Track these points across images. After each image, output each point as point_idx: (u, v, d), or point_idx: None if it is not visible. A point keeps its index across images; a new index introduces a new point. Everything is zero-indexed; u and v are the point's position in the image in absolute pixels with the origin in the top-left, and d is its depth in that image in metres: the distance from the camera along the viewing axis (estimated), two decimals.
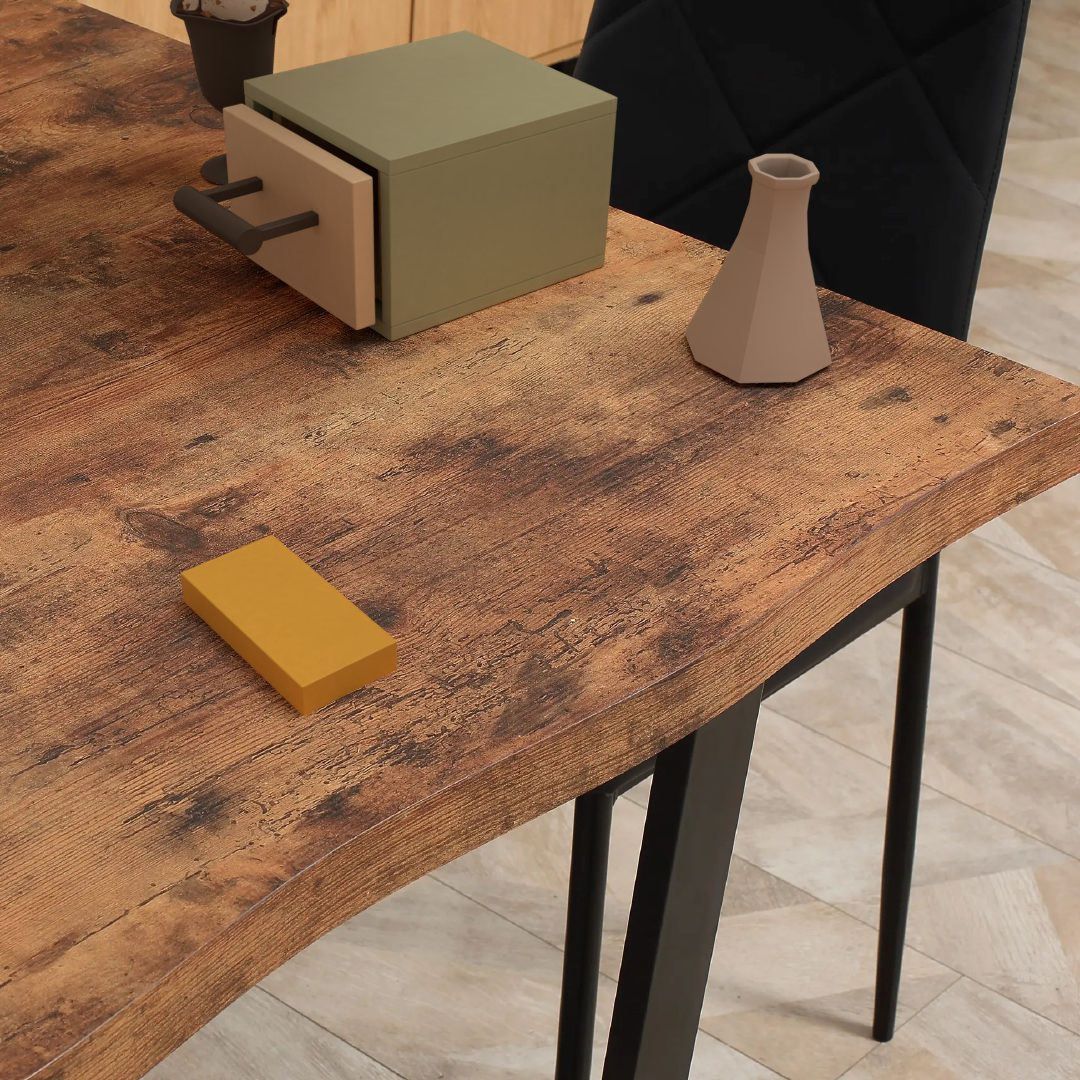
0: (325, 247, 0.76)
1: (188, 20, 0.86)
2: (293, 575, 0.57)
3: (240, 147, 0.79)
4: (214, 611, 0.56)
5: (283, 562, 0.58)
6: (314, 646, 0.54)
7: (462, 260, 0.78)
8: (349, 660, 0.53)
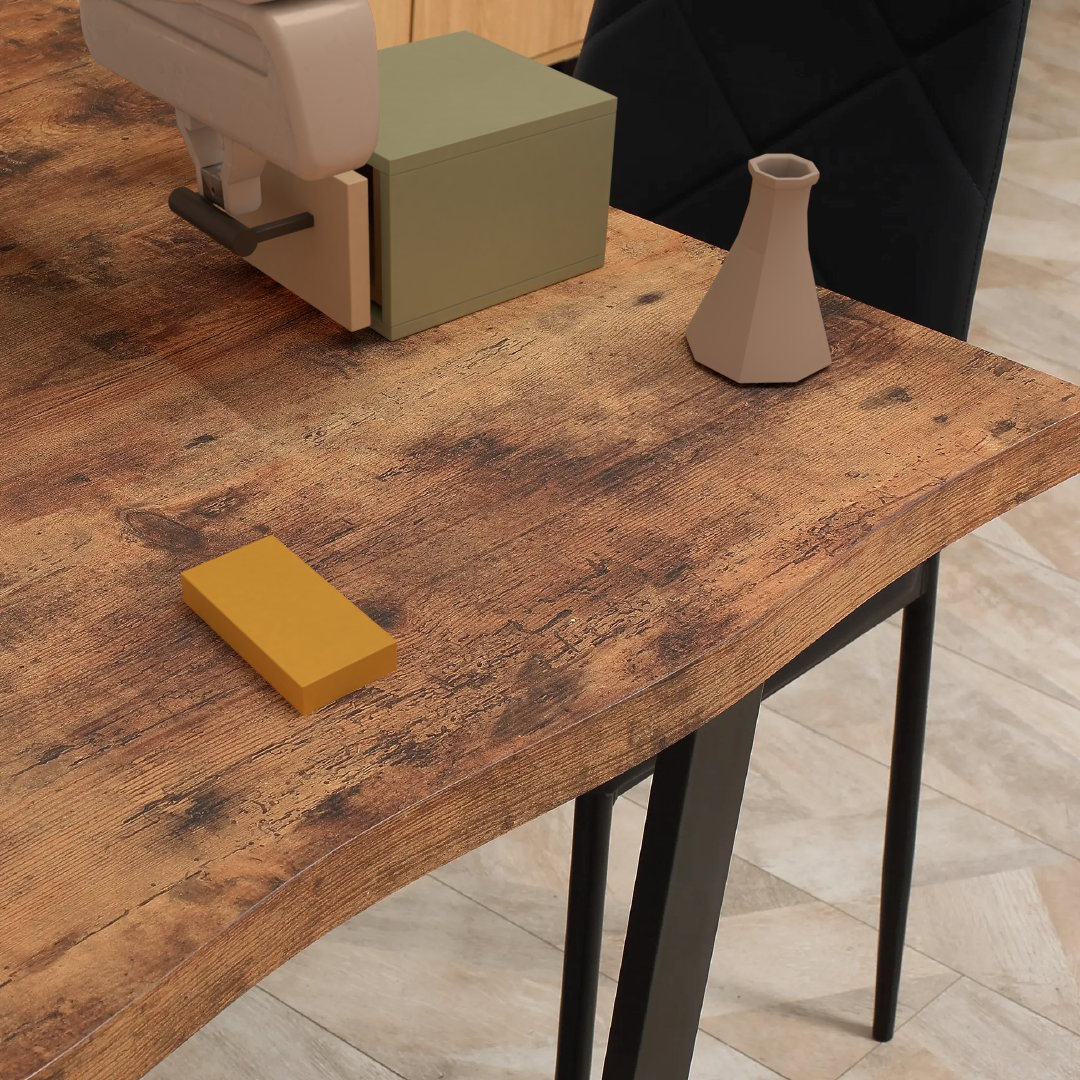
0: (320, 249, 0.76)
1: None
2: (293, 575, 0.57)
3: None
4: (214, 611, 0.56)
5: (283, 562, 0.58)
6: (314, 646, 0.54)
7: (462, 260, 0.78)
8: (349, 660, 0.53)
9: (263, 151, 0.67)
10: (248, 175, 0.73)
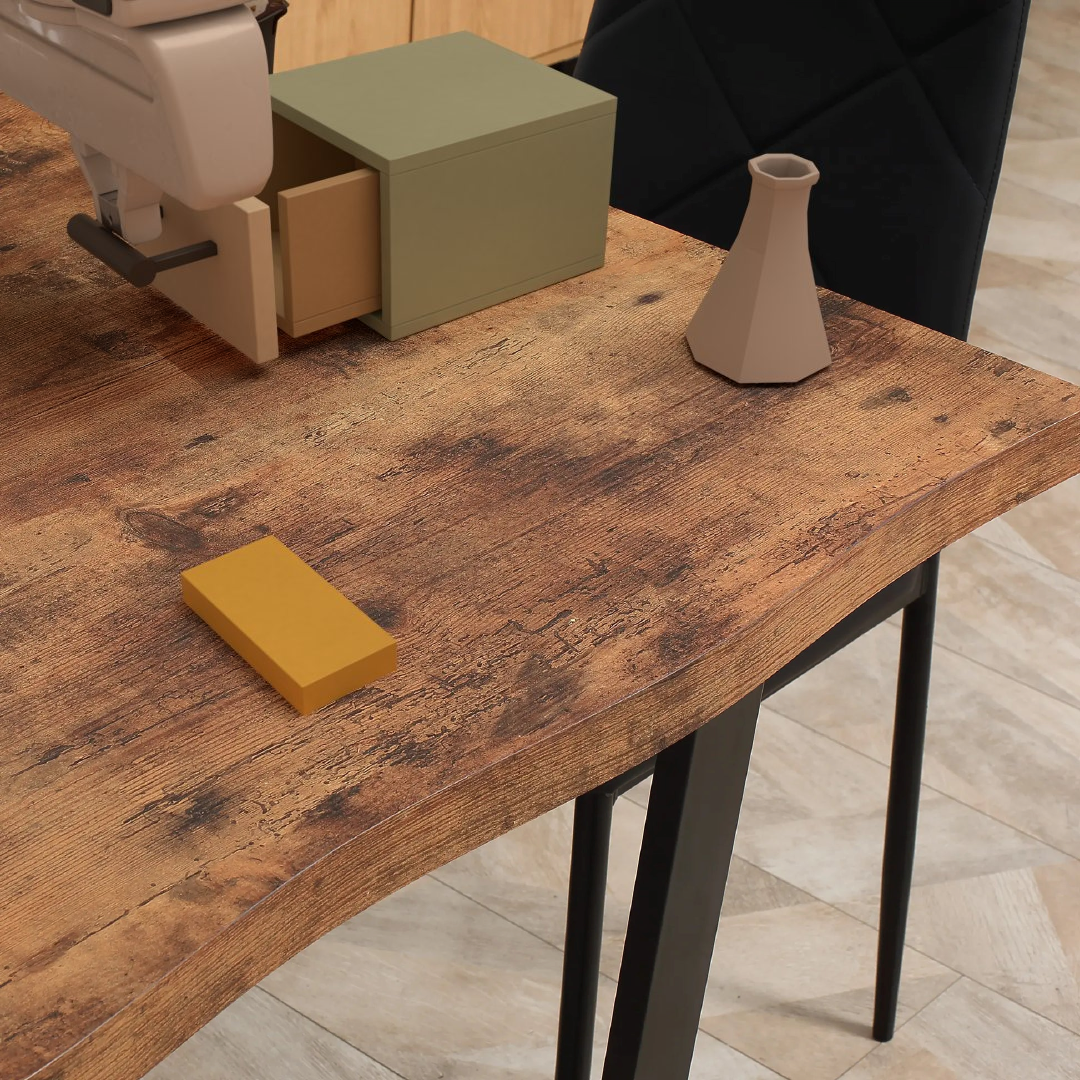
0: (225, 278, 0.73)
1: None
2: (293, 575, 0.57)
3: None
4: (214, 611, 0.56)
5: (283, 562, 0.58)
6: (314, 646, 0.54)
7: (462, 260, 0.78)
8: (349, 660, 0.53)
9: (154, 179, 0.64)
10: (146, 202, 0.70)
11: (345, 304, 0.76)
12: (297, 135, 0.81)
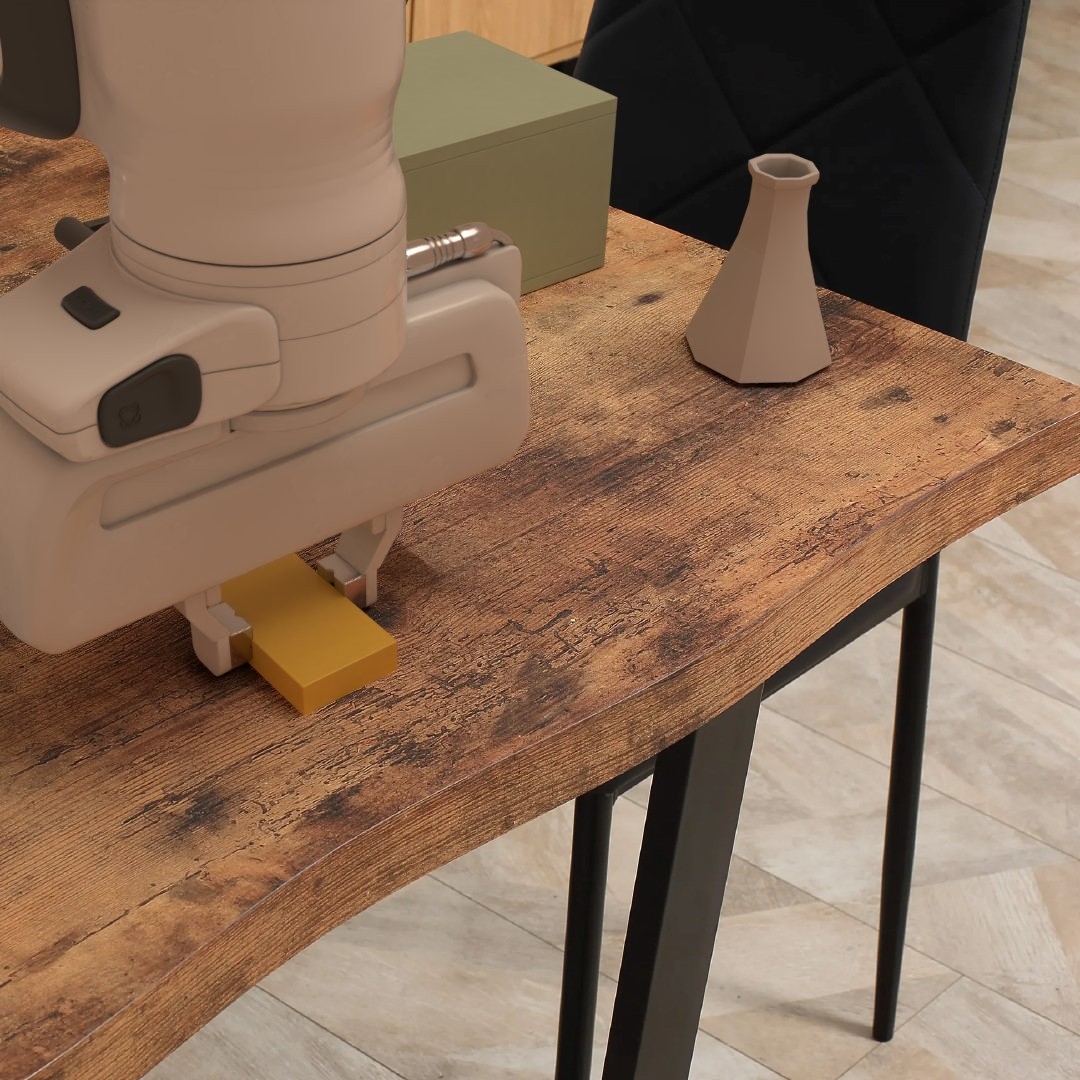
0: None
1: None
2: (293, 575, 0.57)
3: None
4: None
5: (283, 562, 0.58)
6: (314, 646, 0.54)
7: None
8: (349, 660, 0.53)
9: None
10: None
11: None
12: None
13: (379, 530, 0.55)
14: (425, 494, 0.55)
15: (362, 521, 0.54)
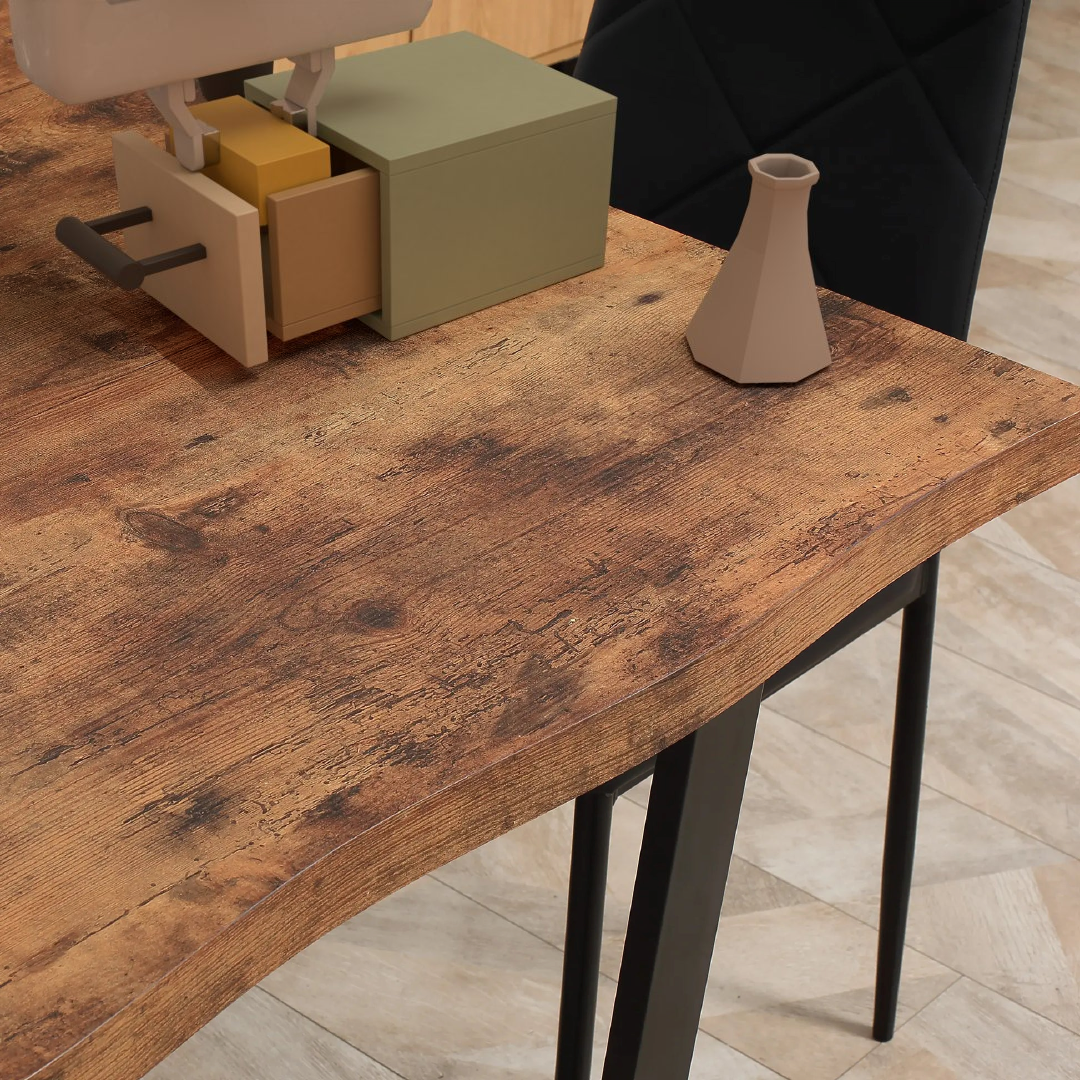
0: (214, 281, 0.72)
1: None
2: (253, 114, 0.75)
3: (129, 175, 0.75)
4: None
5: (245, 108, 0.75)
6: (267, 147, 0.71)
7: (462, 260, 0.78)
8: (292, 153, 0.71)
9: None
10: (178, 128, 0.71)
11: (335, 307, 0.76)
12: None
13: (316, 69, 0.73)
14: (351, 40, 0.73)
15: (302, 50, 0.71)
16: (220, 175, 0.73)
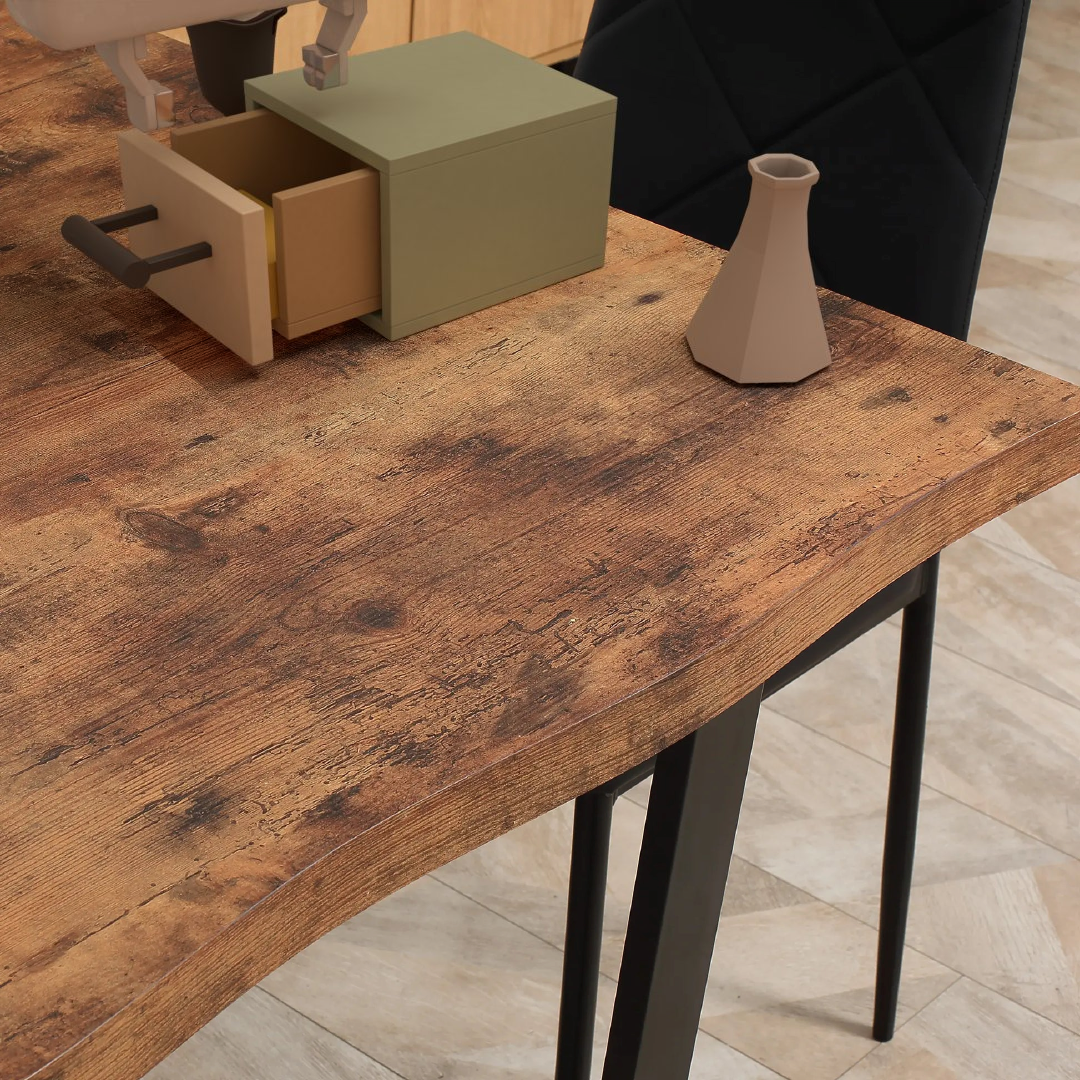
0: (219, 280, 0.72)
1: None
2: None
3: (134, 174, 0.75)
4: None
5: None
6: (270, 246, 0.74)
7: (462, 260, 0.78)
8: None
9: None
10: (129, 88, 0.68)
11: (340, 306, 0.76)
12: (292, 136, 0.80)
13: (348, 12, 0.73)
14: None
15: (298, 0, 0.70)
16: None
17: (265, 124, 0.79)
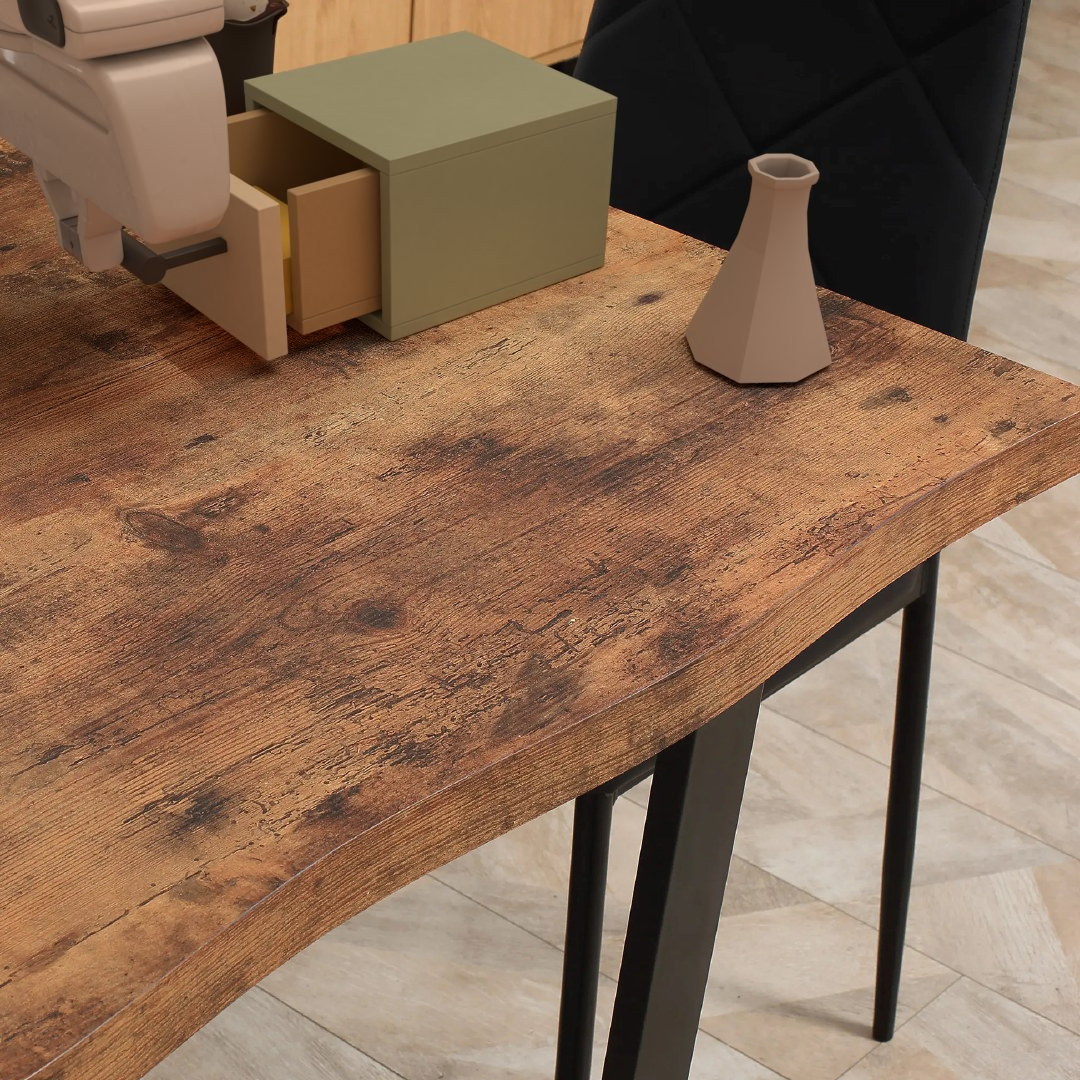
0: (234, 275, 0.73)
1: None
2: None
3: None
4: None
5: None
6: (284, 241, 0.75)
7: (462, 260, 0.78)
8: None
9: (109, 210, 0.63)
10: (107, 230, 0.69)
11: (354, 301, 0.76)
12: (305, 133, 0.81)
13: None
14: None
15: None
16: None
17: (279, 121, 0.79)
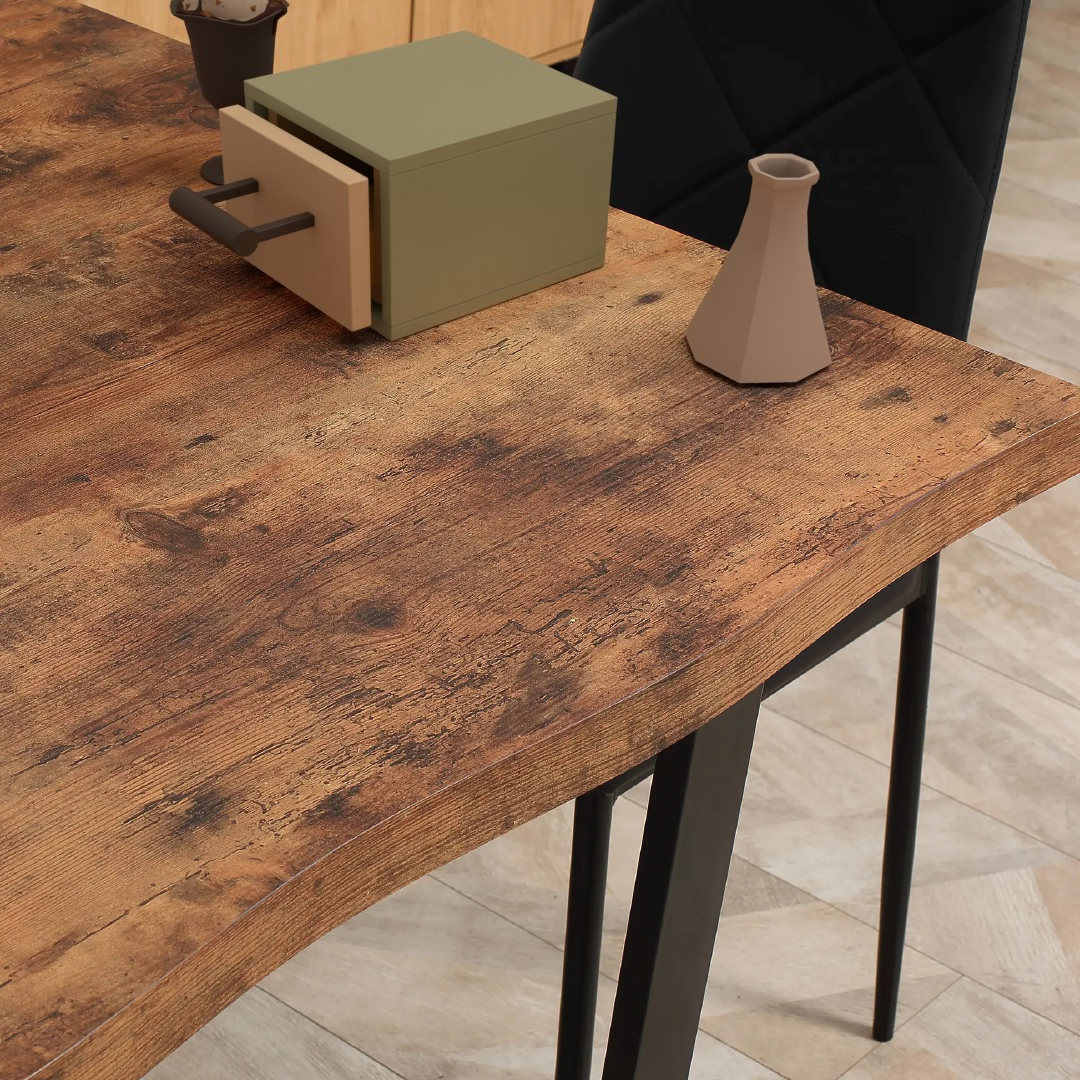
0: (321, 249, 0.76)
1: (188, 20, 0.86)
2: None
3: (236, 148, 0.78)
4: None
5: None
6: None
7: (462, 260, 0.78)
8: None
9: None
10: None
11: None
12: None
13: None
14: None
15: None
16: None
17: None
